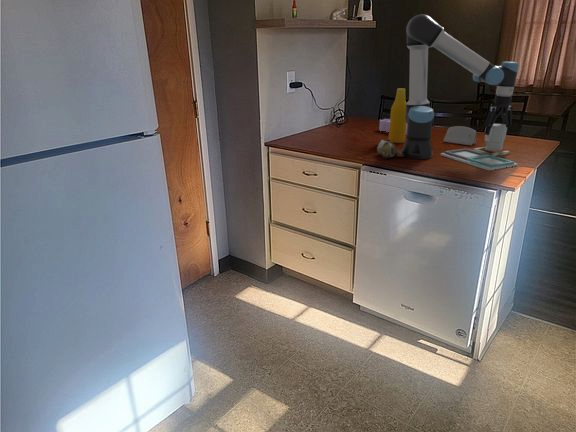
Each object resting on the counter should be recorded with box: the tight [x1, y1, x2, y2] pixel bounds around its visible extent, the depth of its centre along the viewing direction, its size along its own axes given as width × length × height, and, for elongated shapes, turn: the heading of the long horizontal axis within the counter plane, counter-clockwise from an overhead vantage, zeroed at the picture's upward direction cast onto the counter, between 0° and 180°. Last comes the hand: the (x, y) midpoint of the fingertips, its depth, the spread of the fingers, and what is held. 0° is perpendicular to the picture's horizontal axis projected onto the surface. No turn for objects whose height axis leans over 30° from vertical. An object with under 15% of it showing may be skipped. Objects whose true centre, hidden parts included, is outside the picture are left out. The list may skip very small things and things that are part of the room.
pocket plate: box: [440, 148, 519, 172], centre depth 209 cm, size 18×30×2 cm, turn 25°
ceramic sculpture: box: [376, 139, 404, 159], centre depth 215 cm, size 11×9×15 cm
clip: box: [378, 118, 408, 136], centre depth 271 cm, size 20×12×7 cm, turn 46°
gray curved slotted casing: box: [443, 125, 477, 146], centre depth 244 cm, size 17×5×10 cm, turn 49°
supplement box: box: [484, 123, 506, 152], centre depth 221 cm, size 7×7×13 cm
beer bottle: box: [387, 87, 407, 144], centre depth 242 cm, size 9×9×29 cm
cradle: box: [471, 146, 511, 157], centre depth 222 cm, size 13×12×2 cm
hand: (494, 140), depth 221 cm, fingers closed on supplement box, 10 cm apart
